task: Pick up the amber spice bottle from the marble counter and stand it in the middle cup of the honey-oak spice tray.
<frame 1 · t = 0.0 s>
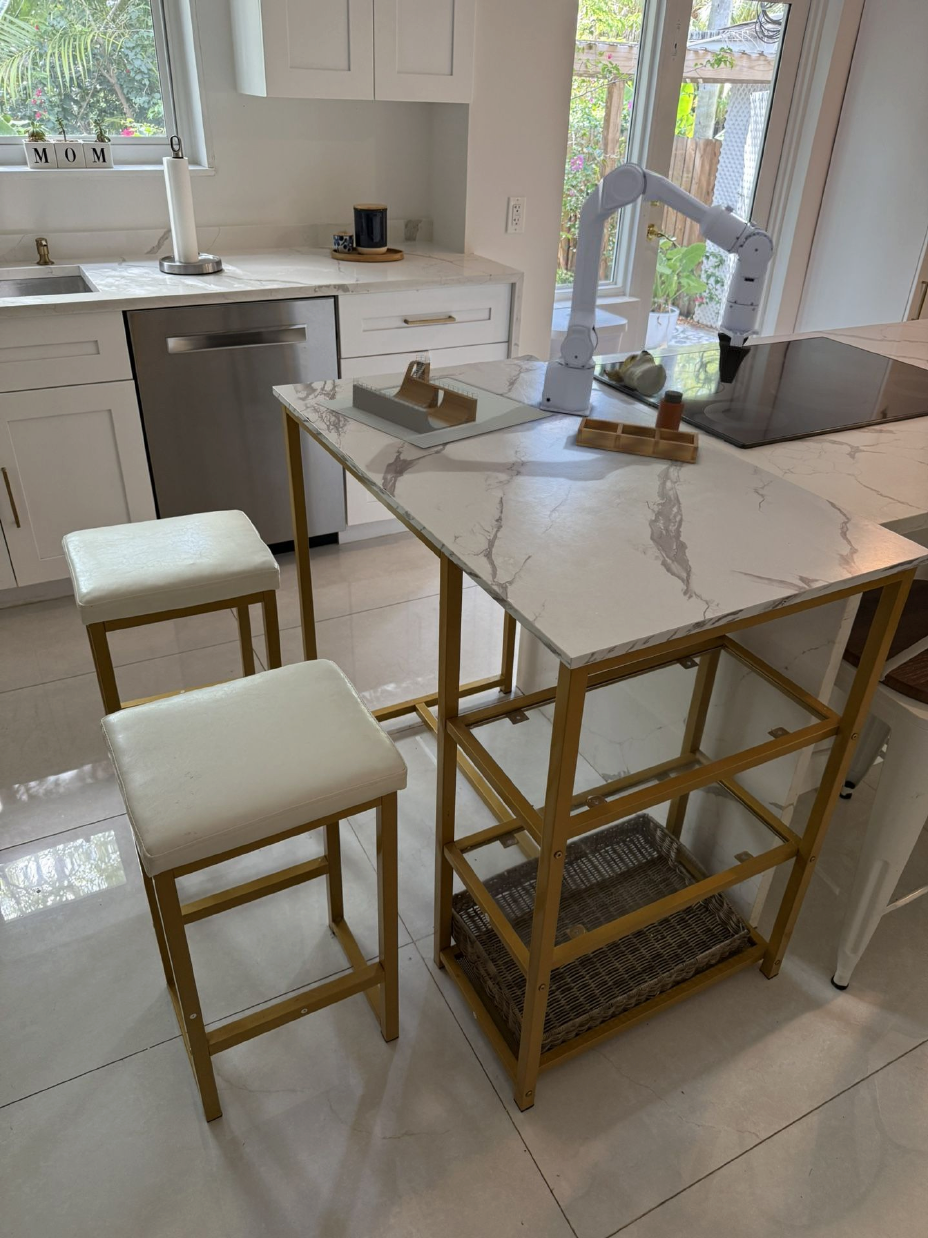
hand: (725, 377, 165), 10 cm above the table, tool pointing down, fingers open, 7 cm apart
ceramic sculpture: (636, 390, 192), on the table
skate ramp: (436, 409, 167), on the table
spice bottle: (665, 434, 165), on the table
spice tray: (635, 447, 157), on the table
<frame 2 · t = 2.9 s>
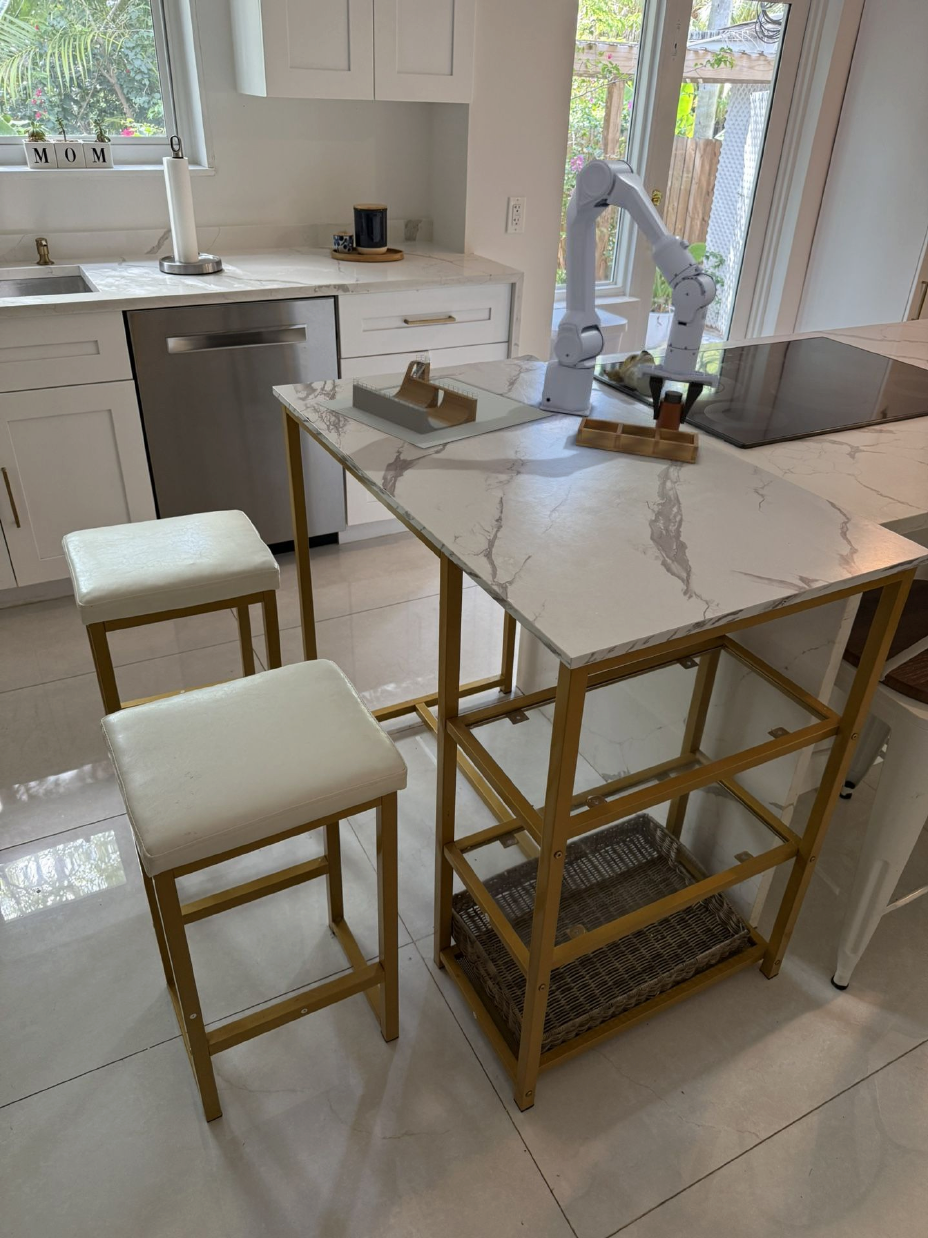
hand: (668, 420, 164), 3 cm above the table, tool pointing down, fingers closed on spice bottle, 4 cm apart
spice bottle: (665, 434, 165), on the table, touching gripper
everything else where it was.
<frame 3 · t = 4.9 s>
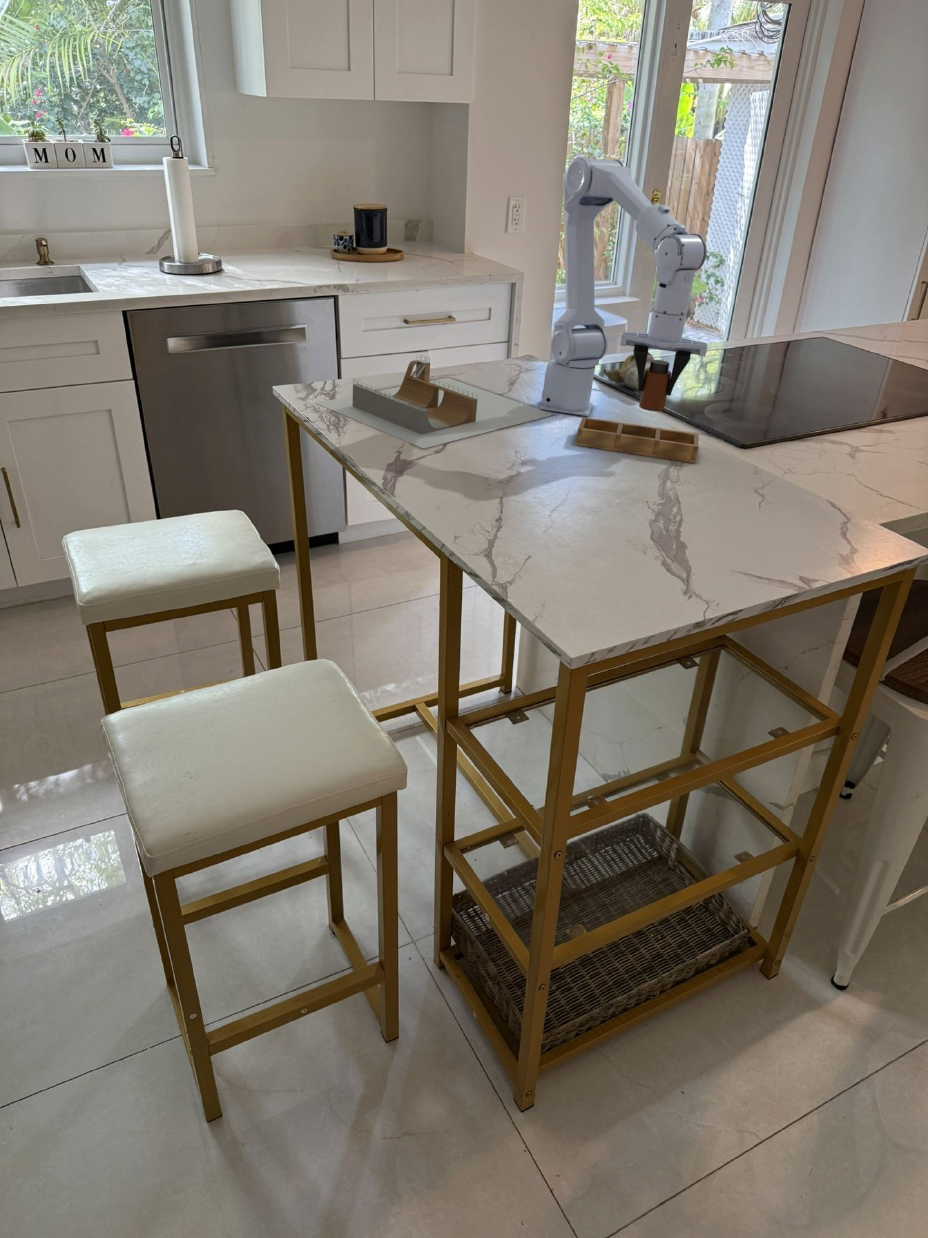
hand: (654, 391, 155), 10 cm above the table, tool pointing down, fingers closed on spice bottle, 4 cm apart
spice bottle: (651, 407, 156), point 7 cm above the table, touching gripper
everything else where it was.
when the fingers open (3 cm above the table, at t = 7.0 s): spice bottle stays where it is, resting on spice tray.
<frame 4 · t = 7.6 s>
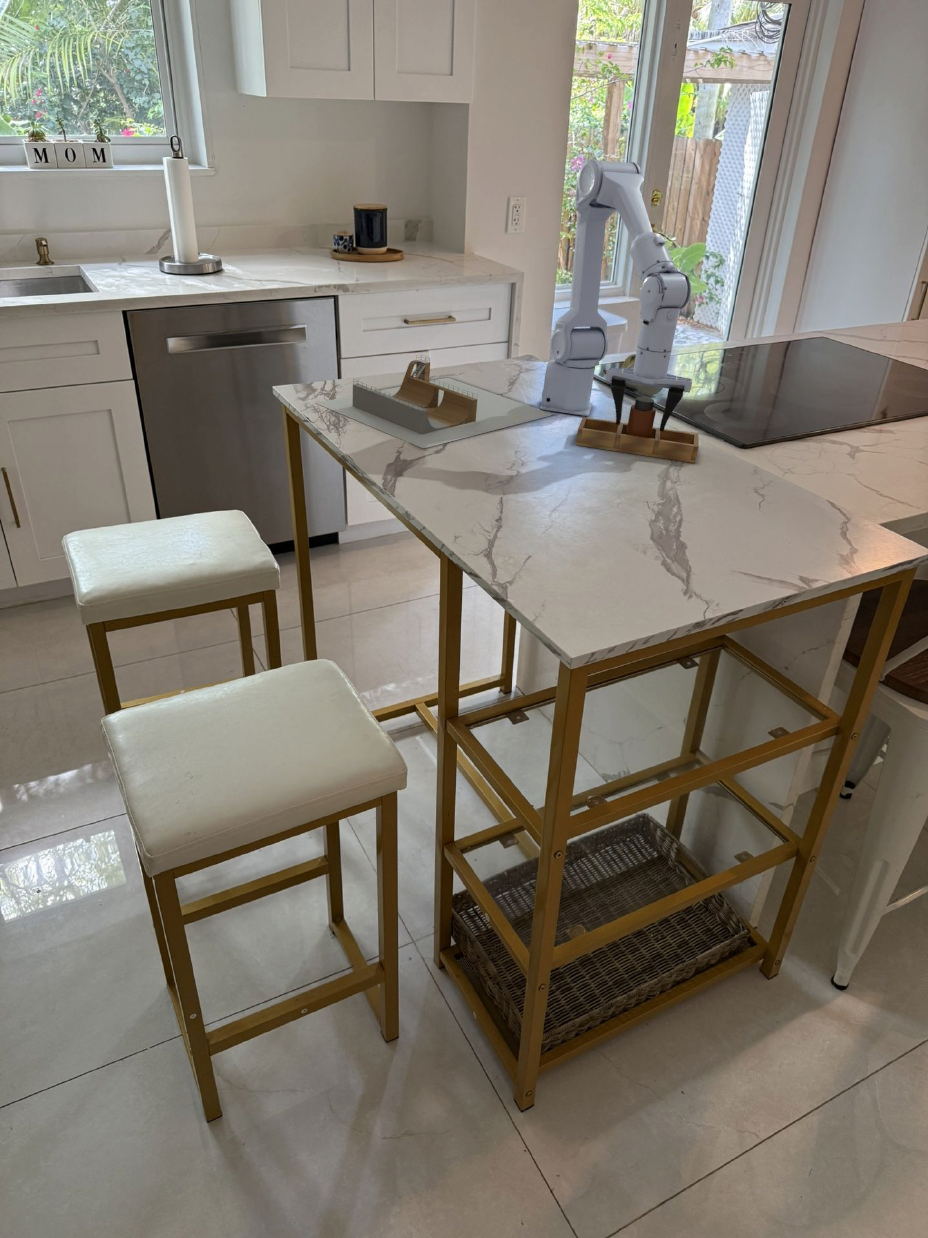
hand: (639, 426, 155), 4 cm above the table, tool pointing down, fingers open, 7 cm apart
spice bottle: (636, 443, 157), point 1 cm above the table, touching spice tray
everything else where it was.
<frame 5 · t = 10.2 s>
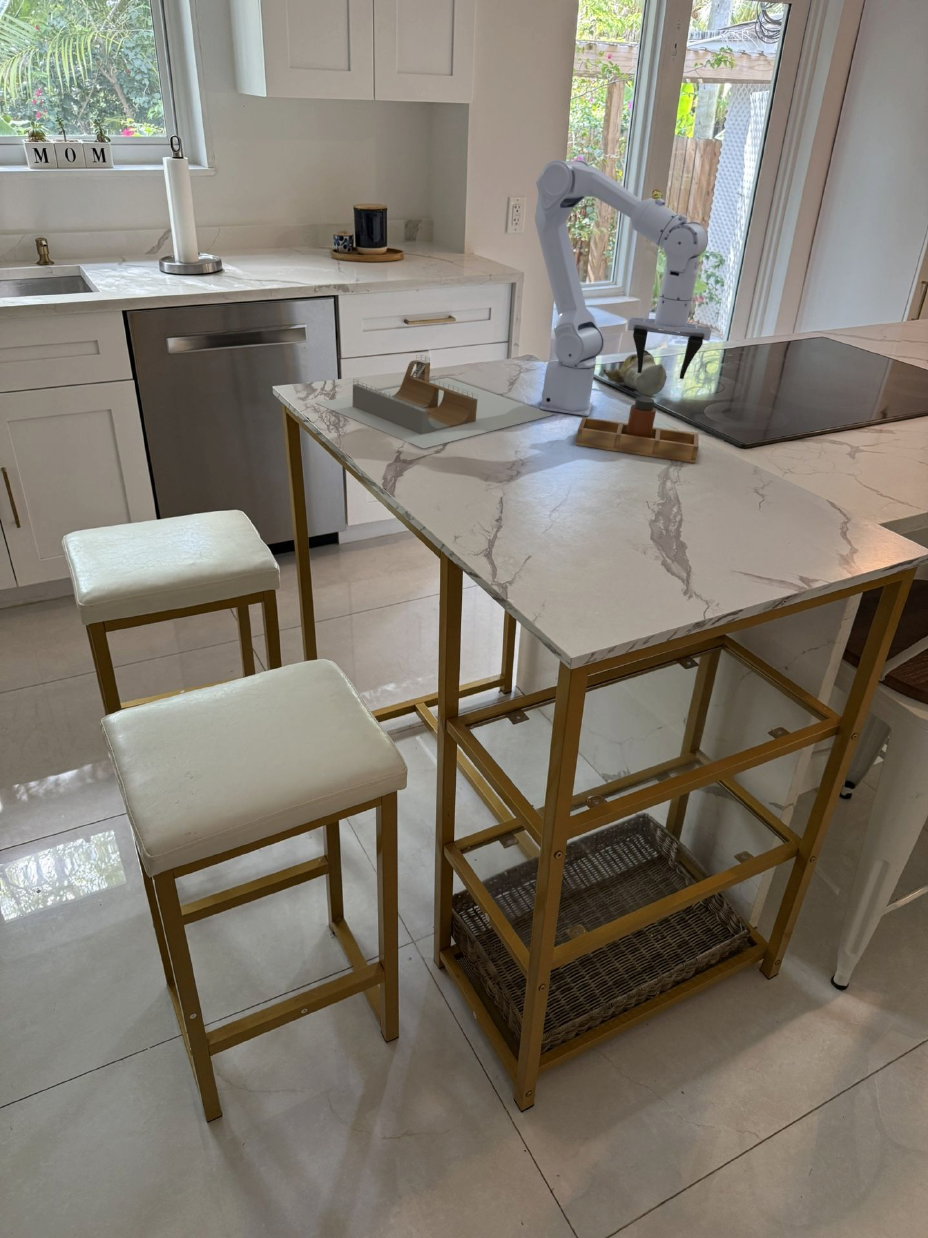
hand: (660, 374, 162), 10 cm above the table, tool pointing down, fingers open, 7 cm apart
nothing on the table moved.
at the end: spice bottle 0.1 cm off-centre in the spice tray, point 0.7 cm above the spice tray's base; spice bottle tilted 0°; the gripper is holding nothing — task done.
